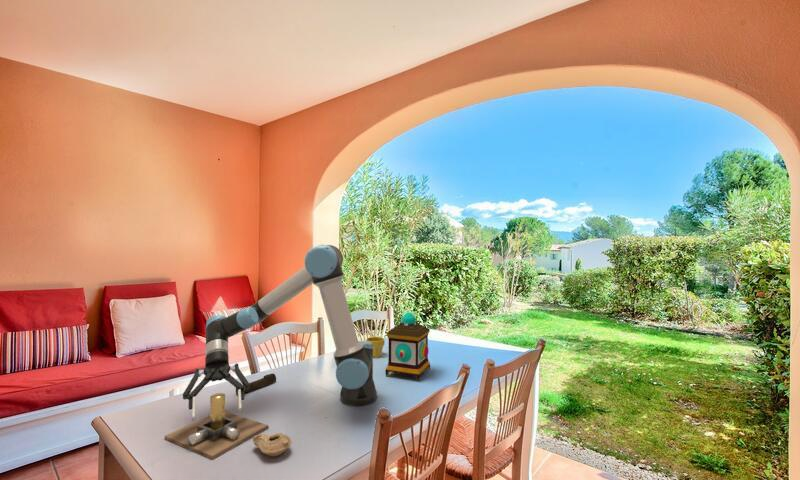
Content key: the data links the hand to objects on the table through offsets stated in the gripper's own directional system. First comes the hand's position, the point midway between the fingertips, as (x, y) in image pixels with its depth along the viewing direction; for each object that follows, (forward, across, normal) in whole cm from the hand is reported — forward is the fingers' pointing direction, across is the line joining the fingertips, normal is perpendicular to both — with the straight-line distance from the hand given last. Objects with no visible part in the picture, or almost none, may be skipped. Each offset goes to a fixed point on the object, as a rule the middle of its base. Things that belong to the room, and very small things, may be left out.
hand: (217, 414), depth 120 cm
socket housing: (+6, +1, -3) cm, 7 cm away
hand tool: (-22, -16, -33) cm, 43 cm away
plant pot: (-35, -81, -47) cm, 100 cm away
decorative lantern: (-12, -85, -24) cm, 89 cm away
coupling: (+4, 0, -6) cm, 7 cm away
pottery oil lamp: (+17, -14, +6) cm, 23 cm away
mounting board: (+3, 0, -8) cm, 8 cm away
